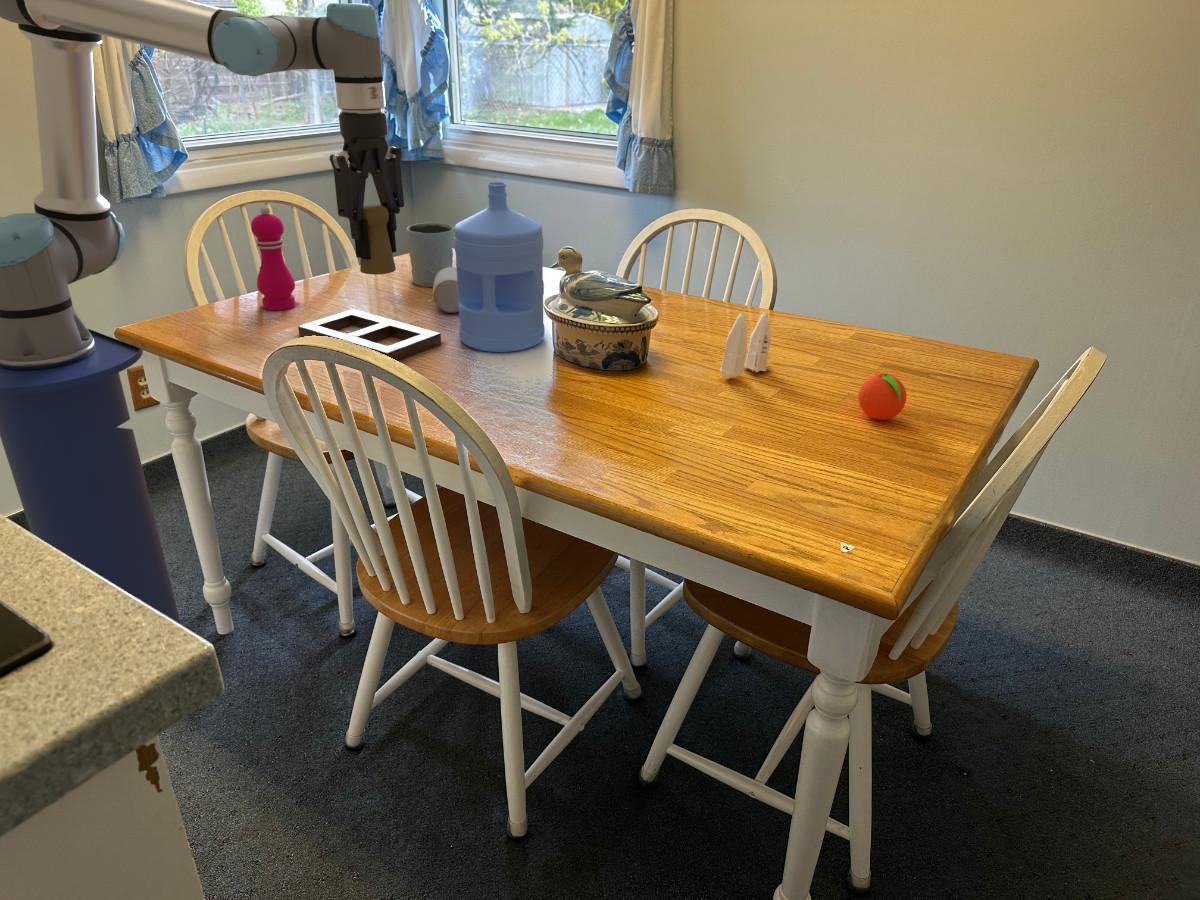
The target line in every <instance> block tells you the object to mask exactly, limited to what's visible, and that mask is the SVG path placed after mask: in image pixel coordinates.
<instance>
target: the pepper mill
mask: <svg viewBox="0 0 1200 900" xmlns="http://www.w3.org/2000/svg"><path fill="white" fill-rule="evenodd" d="M259 212H260V213H259V214H258V215H256V216H254V217H253V219H252V220H251V222H250V223H251V224H250V228H251V232H252V234H253V235H254V236H255V237H256V238H257V239H256V240H255V242H256V248H258V249H259V252H260V258H261V261H260V267H259V271H258V274H257V279H256V288H257V290H258V292H259V293H260V294H261V295H263V297H262V298H261V302H262V303H261V304H262V307H263V309H264V310H267V311H283V310H289V309H292V308H293V307H295V306H296V300H295V299H296V298H295V295H293V294H292V293H293V292H294V291H295V288H296V282H295V278H294V276H293V273H292V272H291V271H290V269H289V267H287V264H286V262H285V260H284V257H283V247H284V239H283V237H282V235H283V234H284V231H285V226H284V223H283V221H282V220H281V218H280V217H279V216H278V215H277V214H272V213H271V210H270V208H269V207H268V206H267V205H262V206H260V209H259Z"/></svg>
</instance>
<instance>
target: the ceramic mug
mask: <svg viewBox="0 0 1200 900" xmlns="http://www.w3.org/2000/svg"><path fill="white" fill-rule="evenodd" d="M432 298H433V301H434V304H435V305H436V306H437V308H438V309H439V310H441V311H442V312H444V313H446V314H456V313H459V304H458V293H457V267H455V266H452V267H447V268H444V269H442V270H441V271H439V272H438V274H437V275H436V277H435V279H434V286H433V287H432Z"/></svg>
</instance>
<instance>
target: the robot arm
mask: <svg viewBox="0 0 1200 900" xmlns="http://www.w3.org/2000/svg"><path fill="white" fill-rule="evenodd" d="M377 14H378V13H377V11H376V8H375V7H374V6H373V5H372V4H369V3H341V2H339V3H336V2H330V3H328V4H327V6H326V13H325V16H319V17H315V16H314V17H313V16H312V17H311V16H292V15H291V16H290V15H289V16H288V15H287V16H285V15H268V16H254V15H249V14H245V13H241V12H237V11H233V10H229V9H228V10H227V9H224V8H221V7H216V6H212V5H208V4H206V3H205V4H204V3H201V2H196V1H192V0H0V18H1V19H3V20H6V21H8V22H11V23H15V24H17V26H18V31H19V32H20V33H21V34H22V35H23V36H24V37H25V38H26V39H27V40H28V41H29V43H30V49H31V59H32V73H33V83H34V84H33V85H34V86H33V87H34V97H35V108H36V119H37V133H38V143H39V155H40V156H39V157H40V167H41V178H42V179H41V180H42V191H40V192H39V193H38V194H37V195H35V196H34V198H33V206H34V207H33V208H34V213H33V212H24V213H23V212H21V213H12V214H8V215H7V216H0V368H3V369H7V370H14V371H34V370H44V369H51V368H56V367H61V366H65V365H69V364H72V363H75V362H78V361H81V360H83V359H85V358H87V357H89V356H90V355H92V354H93V353H94V352H95V350H96V346H95V342H94V339H93V337H92V335H91V334H90V332H89V331H88V329H89V328H88V327H87V326H86V324H85V323H84V322H83V320H82V319H81V317H80V316H79V314H78V312H77V311H76V310H75V307H74V305H73V301H72V297H71V293H70V290H69V285H72V284H73V283H75V282H78V281H80V280H82V279H85V278H87V277H91V276H93V275H94V276H95V275H97V274H101V273H103V272H104V271H106V270H107V269H109V268H110V267H112V266H114V265H115V264H116V263H117V262H118V261H119V260H120V259H121V257H122V256H123V253H124V251H125V246H126V235H125V230H124V228H123V226H122V223H121V222H119V221H118V220H117V219H118V218H117V216H116V215H115V214H114V213H113V212H112V211H111V204H110V202H109V201H108V199H106V198H105V197H103V196H102V194H101V193H100V172H99V169H100V168H99V154H98V152H99V151H98V150H99V149H98V132H97V119H96V118H97V114H96V96H95V77H94V76H95V75H94V61H93V58H94V57H93V51H94V50H95V49H97V47H99V46H100V45H101V44H102V43H103V36H104V37H108V38H112V39H116V40H120V41H123V42H124V41H125V42H128V43H133V44H137V45H140V46H145V47H148V48H151V49H156V50H161V51H163V52H164V51H165V52H169V53H172V54H177V55H181V56H184V57H188V58H193V59H197V60H201V61H205V62H209V63H214V64H217V65H219V66H223V67H225V68H226V69H227V70H228V71H230V72H231V73H232V74H235V75H240V76H247V77H259V76H263V75H266V74H271V73H272V74H273V73H274V74H275V73H279V72H289V71H297V70H324V71H331V70H332V71H333V78H334V88H335V96H336V107H337V108H338V109H339V110H341V111H340V112H339V114H338V123H339V131H340V136H342V139H343V146H342V151H341V152H339V153H337V154H333V153H332V154H330V155H329V162H330V165H331V167H332V170H333V178H334V187H335V188H334V189H335V196H336V208H337V214H338V216H339V217H340V218H345V219H347V220H348V221H349V227H350V236H351V237H350V238H351V239H352V240H354V247H355V255H356V258H359V259H361V258H363V259H367V260H368V259H371V257H370V247H369V237H368V228H367V220H365V219H362V216H363V206H365V205H364V204H365V194H366V185H367V184H366V183H367V179H368V178H369V174H370V175H371V177H372V181H373V183H374V187H375V190H376V194H377V196H378V197H377V198H378V200H379V203H380V204H379V205H381V206H384V207H385V208H386V209H387V211H388V214H389V219H388V222H387V224H386V227H387V231H388V236H389V240H390V245H391V249H392V254H393V253H397V244H396V243H397V242H396V233H395V232H397V229H398V226H397V215H398V214H400V212H401V208H402V209H403V208H404V207H405V196H404V188H403V187H404V185H403V176H402V168H401V167H402V166H401V161H402V148H401V147H397V146H391V145H389V143H388V141H387V138H386V137H387V136H388V135H389V128H388V118H387V113H386V112H385V111H384V110H383V109H385V108H386V96H385V95H386V94H385V85H384V83H385V82H384V75H383V64H382V49H381V48H382V47H381V34H380V30H379V21H378V15H377ZM396 214H397V215H396Z"/></svg>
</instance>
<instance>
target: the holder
mask: <svg viewBox="0 0 1200 900" xmlns="http://www.w3.org/2000/svg"><path fill="white" fill-rule="evenodd" d="M352 325H353V326H356V327H360V328H361V329H358V330H355V331H352V332H349V333H344V332H341V331H337V330H340V329H343V328H346V327H349V326H352ZM297 330H298V335H299V336H298V337H301V338H303V337H304V336H312V335H316V336H328V337H333V338H337V339H341V340H345V341H348V342H351V343H354V344H356V345H360V346H364V347H367V348H370V349H372V350H375V351H378V352H380V353H382V354H385V355H387V356H389V357H391V358H393V359H395V360H397V361H400V360H403V359H406V358H407V357H411V356H412V355H415V354H418V353H420V352H421V353H422V352H423V351H425V350H428V349H431V348H434V347H435V346H438V345H442V333H441V332H437V331H433V330H430V329H427V328H423V327H419V326H416V325H412V324H409V323H405V322H401V321H398V320H394V319H390V318H387V317H382V316H380V315H376V314H371V313H369V312H365V311H360V310H357V309H353V308H352V309H349V310H346V311H343V312H338V313H336V314H333V315H329V316H327V317H323V318H320V319H317V320H314V321H310V322H308V323H307V322H306V323H304V324H301V325H297ZM390 336H392V337H395V338H399V339H401V341H398V342H395V343H393V344H391V345H385V344H382V343H378V342H376V341H379V340H382V339H384V338H388V337H390Z"/></svg>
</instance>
